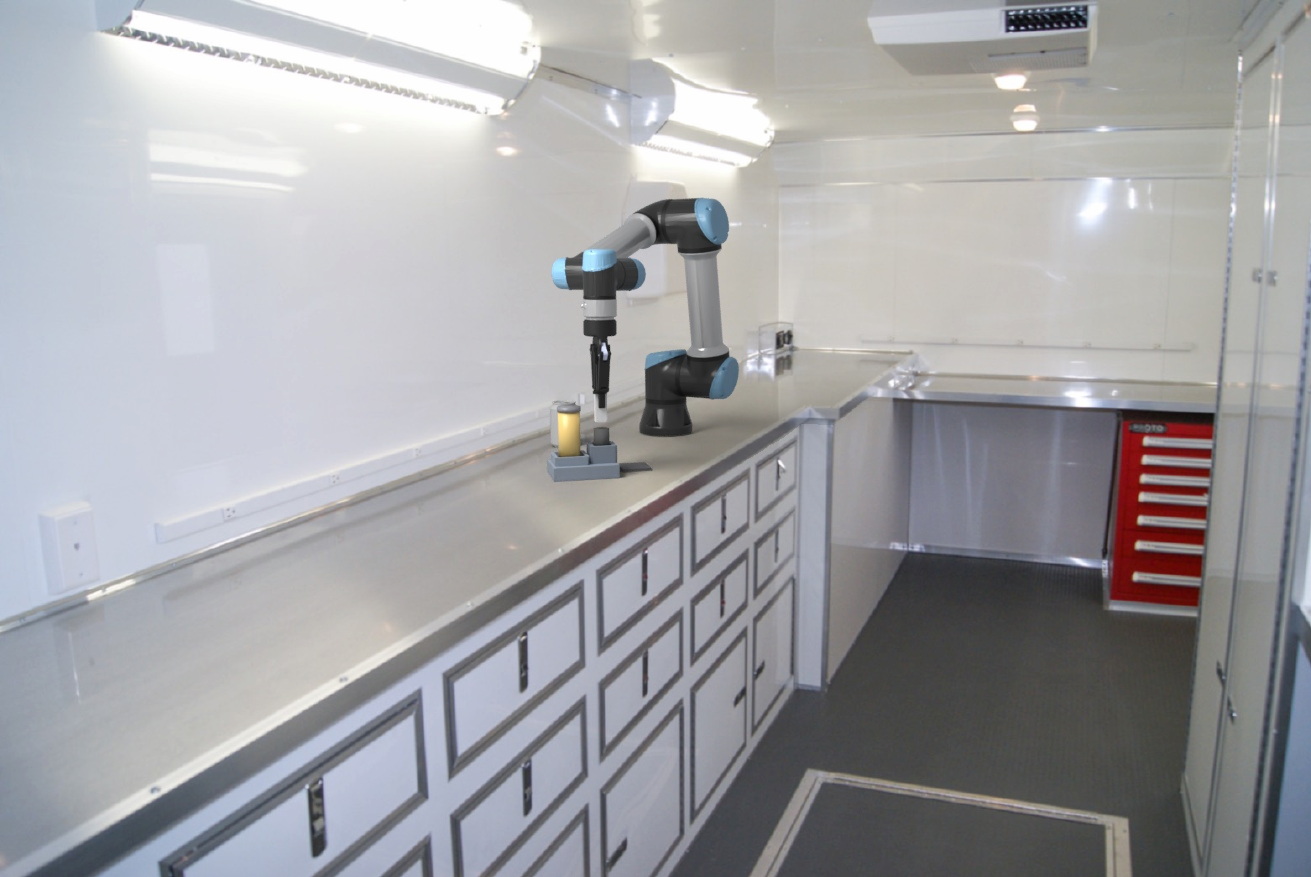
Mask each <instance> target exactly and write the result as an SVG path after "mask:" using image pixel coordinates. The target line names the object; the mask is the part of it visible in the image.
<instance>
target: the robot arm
mask: <svg viewBox="0 0 1311 877" xmlns="http://www.w3.org/2000/svg"><path fill="white" fill-rule="evenodd" d="M729 223H730V222H729V217H728V213H727V211H726V209H725V207H724V205H723V204H722V202H721V201H719V200H717V199H715V198H709V197H708V198H707V197H693V198H690V197H689V198H674V199H672V198H668V199H666V198H665V199H661V200H658V201H655V202H652V203H650V204H648V205H646V206H644V207H642V208H640V209H637V211H635V212H633V213H632V214H630V215H628V216H627V218H626V219H625V221H624V223H623V224H622V225H621V226H619V227H618V228H616V229H614V230H613V231H611V232H610V233H609V234H607V235H606V236H604V237H603V238H600V239H599V240H598V241H596V242H595V243H593V244H592V245H590V246H589V247H587V248H586V249H584V250H583V251H581V252H580V253H577V255H575V256H573V257H568V256H567V257H560V258H557V259H555V261H554V262H553V264H552V267H551V277H552V282H553V284H554V286H555V287H556V288H557V289H560V290H568V291H582V294H583V295H582V299H583V301H582V302H583V303H581V304H580V308H581V309H582V310H583V317H584V320H583V321H582V322H583V325H582V326H583V328H582V329H583V330H582V331H583V335H584V336H585V337H590V338H592V340H591V342H592V343H590V344H589V354H590V355H589V356H590V368H591V369H590V370H591V388H592V389H593V390H592V395H593V407H594V408H593V409H594V410H593V413H594V414H593V415H594V416H593V420H594V422H595V423H607V422H608V393H609V392H610V372H611V358H612V357H611V356H612V352H611V344H609V343H608V341H609V339H608V337H614V336H617V328H618V327H617V320H616V319H615V318H616V317H617V316H618V314H617V313H618V312H617V311H618V310H617V309H618V307H617V306H618V305H617V304H618V303H617V302H618V300H617V292H622V291H624V292H625V291H626V292H630V291H634V290H637V289H639V288H641V287H642V286H643V284H644V283H645V281H646V275H647V273H646V268H645V266H644V264H643V263H642V262H641V260H639V259H636V258H633V257H631V256H632V255H634V254H635V253H637V252H638V251H639V250H646V249H649V248H651V247H652V246H655V245H666V244H667V245H676V246H677V254H679V256H681V257H682V258H683V260H684V272H685V275H684V276H685V284H686V285H685V286H686V294H687V295H686V296H687V297H686V298H687V308H688V322H689V331H690V333H689V334H690V343H691V345H690V347H689V348H688V349H687V350H686V349H681V348H680V349H672V350H664V351H663V350H662V351H656V352H649V353H648V354H647V355H646V356H645V361H644V362H645V363H644V391H645V392H644V394H645V395H644V398H645V400H644V401H645V402H644V403H645V405H644V407H643V408H644V409H643V412H642V415H641V418H640V421H639V426H638V429H639V430H638V431H639V433H640V434H642V435H646V436H652V437H653V436H655V437H676V436H678V437H680V436H685V435H690V434H692V433H693V431H694V430H693V429H694V428H693V427H694V426H693V422H692V419H691V416H690V412H689V410H688V405H687V398H695V399H696V398H698V399H708V400H724V399H727V398H729V397H730V396H731V395H732V394H733V392H734V391H735V389H736V387H737V383H738V380H739V375H740V374H739V373H740V369H739V368H740V366H739V362H738V360H737V358H736V357H734V356H730V349H729V347H728V346H727V345H726V344H724V338H723V327H722V313H721V312H722V311H721V298H720V286H719V283H720V282H719V272H718V271H719V270H718V259H717V257H718V254H719V253H720V252H721V250H723V248H722V247H723V246H722V244H724V243H725V242H726V241H727V240H728V237H729V231H730V224H729Z"/></svg>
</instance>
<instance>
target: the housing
mask: <svg viewBox="0 0 1311 877" xmlns="http://www.w3.org/2000/svg"><path fill="white" fill-rule="evenodd" d="M585 447H586V451H585V450H581V449H580V450H581V456H575V457H559V450H558V451H557V450H555V451H550V458H547V459H546V469H547V470H546V471H547V473H548V475H549V477H551V479H552V480H553V482H554V483H557V482H572V481H588V480H591V481H592V480H605V479H606V480H607V479H620V478H621V477H620V476H621V475H620V471H621V470H620V467H619V464H618V445H617V444H616V443H615V442H614V441H612V440H611V441H610V440H609V445H605V446H594V441H588V442H587V441H586V446H585Z"/></svg>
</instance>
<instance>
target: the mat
mask: <svg viewBox="0 0 1311 877" xmlns="http://www.w3.org/2000/svg"><path fill="white" fill-rule="evenodd" d="M617 463H618V462H617ZM618 464H619V467H620V471H621V473H623V472H624V473H625V472H626V473H628V472H630V473H631V472H643V471H652V470H653V467H651V465H649V464H648V463H647V462H645V461H640V462H639V461H637V462H622V463H621V462H619V463H618Z"/></svg>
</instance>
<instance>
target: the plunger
mask: <svg viewBox="0 0 1311 877" xmlns="http://www.w3.org/2000/svg"><path fill="white" fill-rule="evenodd" d="M609 441H610V428H609V427H606V426H601V427H600V426H599V427H594V428H593V442H594V446H605V445H609Z"/></svg>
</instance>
